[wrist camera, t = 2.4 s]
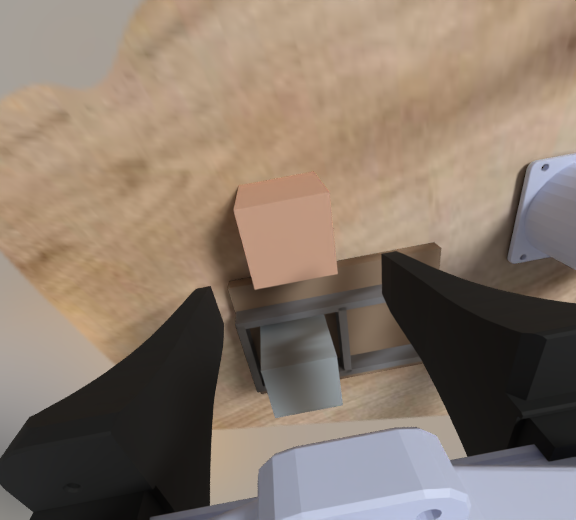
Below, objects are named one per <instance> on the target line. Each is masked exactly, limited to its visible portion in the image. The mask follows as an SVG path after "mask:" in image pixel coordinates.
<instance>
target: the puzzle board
mask: <svg viewBox="0 0 576 520" xmlns="http://www.w3.org/2000/svg"><path fill="white" fill-rule="evenodd" d="M393 251H397V252H400V253H403V254H405V255H407V256H409V257H412V258H414V259H416V260H418V261H420V262H423V263H425V264H427V265H429V266H431V267H434V268H436V269H438V270H439V267H440V256H441V248H440V247H439V246H438V245H437V244H435V243H429V244H423V245H418V246H413V247H408V248H402V249H397V250H392V251H387V252H381V253H376V254H371V255H366V256H360V257H355V258H350V259H344V260H339V261H337V271H338V274H335V275H330V276H324V277H319V278H314V279H308V280H303V281H298V282H293V283H287V284H282V285H277V286H271V287H266V288H261V289H256V290H255V289H254V285H253V281H252V277H250V278H244V279H239V280H234V281H229V284H228V291H229V294H230V297H231V301H232V304H233V307H234V310H235V313H236V321H235V326H236V329H237V332H238V335H239V338H240V341H241V344H242V347H243V350H244V353H245V356H246V359H247V362H248V365H249V368H250V371H251V374H252V378H253V381H254V384H255V387H256V390H257V392H261V394H264V393H268V396H269V399H270V403H271V406H272V409H273V412H274V416H275V418H278V417H283V416H289V415H294V414H299V413H304V412H310V411H315V410H320V409H325V408H331V407H336V406H341V405H343V403H342V394H341V386H340V379H343V378H349V377H354V376H359V375H364V374H370V373H375V372H380V371H386V370H391V369H396V368H401V367H407V366H412V365H417V364H422V363H423V362H422V360H421V359H420V357H419V355H418V354H417V352H416V351H415V349H414V348H413V346H412V345H411V343H410V342H409V340H408V339H407V337H406V336H405V334H404V333H403V331H402V330H401V328H400V326H399V325H398V323H397V322H396V320H395V319H394V317H393V316H392V314H391V312H390V310H389V308H388V306H387V304H386V302H385V300H384V297H383V295H382V266H381V254H383V253H388V252H393Z"/></svg>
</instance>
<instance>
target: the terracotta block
mask: <svg viewBox="0 0 576 520" xmlns="http://www.w3.org/2000/svg"><path fill="white" fill-rule="evenodd" d="M234 214H235V217H236V221H237V225H238V229H239V232H240V236H241V240H242V244H243V247H244V251H245V255H246V259H247V262H248V266H249V270H250V274H251V277H252V281H253V285H254V289H255V290H256V289H261V288H266V287H271V286H277V285H282V284H287V283H293V282H298V281H303V280H308V279H314V278H319V277H324V276H330V275H335V274H338V271H337V261H336V251H335V241H334V230H333V220H332V210H331V200H330V192H329V190H328V189H327V188H326V186H325V185H324V184H323V183H322V181H321V180H320V179H319V177H318V176H317V175H316V173H315V172H314V171H313V172H307V173H302V174H297V175H292V176H286V177H281V178H276V179H271V180H265V181H260V182H255V183H249V184H244V185H239V187H238V192H237V196H236V201H235V206H234Z"/></svg>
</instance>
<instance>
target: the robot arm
mask: <svg viewBox="0 0 576 520" xmlns="http://www.w3.org/2000/svg"><path fill="white" fill-rule="evenodd" d="M543 165H544V167H543V169H542V170H541V168H542V166H543ZM547 257H552V258H554V259H556V260H558V261H560V262H562V263H563V264H565V265H567V266H569V267H571V268H573V269H575V270H576V153H573V154H567V155H562V156H557V157H552V158H546V159H541V160H536V161H533V162H532V163H530V164H529V166H528V167H527V170H526V175H525V179H524V184H523V189H522V193H521V198H520V202H519V207H518V212H517V216H516V221H515V225H514V230H513V235H512V239H511V244H510V248H509V253H508V258H507V259H508V261H509V262H511V263H513V264H516V263H521V262H526V261H532V260H537V259H542V258H547ZM381 266H382V295H383V297H384V300H385V302H386V304H387V306H388V308H389V310H390V312H391V314H392V316H393V317H394V319H395V320H396V322H397V323H398V325H399V326H400V328H401V330H402V331H403V333H404V334H405V336H406V337H407V339H408V340H409V342H410V343H411V345H412V346H413V348H414V349H415V351H416V352H417V354H418V355H419V357H420V359H421V360H422V362H423V364H424V365H425V367H426V369H427V371H428V373H429V375H430V377H431V379H432V381H433V383H434V385H435V387H436V389H437V391H438V393H439V395H440V397H441V399H442V401H443V403H444V405H445V407H446V410H447V412H448V414H449V416H450V418H451V420H452V423H453V425H454V427H455V429H456V431H457V433H458V436H459V438H460V440H461V443H462V445H463V447H464V449H465V452H466V454H467V457H465V458H459V459H454V460H449V458H448V456H447V454H446V453H445V451H444V449H443V447H442V445H441V443H440V441H439V439H438V437H437V436H436V435H434V434H432V433H429V432H427V431H425V430H422V429H420V428H417V427H402V428H391V429H386V430H380V431H375V432H370V433H365V434H359V435H354V436H349V437H344V438H339V439H333V440H328V441H323V442H318V443H312V444H307V445H302V446H296V447H293V448H290V449H287V450H284V451H282V452H279V453H276V454H274V455H273V456H272V457H271V458H270V459H269V460H268V461H267V462H266V463H265V464H264V465H263V466H262V467H261V468H260V469H259V474H258V497H254V498H249V499H243V500H238V501H233V502H227V503H222V504H217V505H212V506H210V461H211V437H212V419H213V404H214V396H215V390H216V384H217V379H218V373H219V367H220V361H221V355H222V349H223V338H224V323H223V320H222V317H221V314H220V311H219V309H218V306H217V303H216V300H215V297H214V294H213V291H212V289H211V286H208V287H203V288H198V289H196V290H194V291H193V292H192V294H191V295H190V296H189V297H188V298H187V299H186V300H185V301H184V302H183V304H182V305H181V306H180V307H179V308H178V309H177V310H176V311H175V312H174V313H173V315H172V316H171V317H170V318H169V319H168V320H167V321H166V322H165V323H164V324H163V325H162V326H161V327H160V328H159V329H158V330H157V331H156V332H155V333H154V334H153V335H152V336H151V337H150V338H149V339H148V340H146V341H145V342H144V343H143V344H142V345H141V346H140V347H138V348H137V349H136V350H135V351H134V352H132V353H131V354H130V355H129V356H127V357H126V358H125V359H123V360H122V361H121V362H119V363H118V364H117V365H115V366H114V367H113V368H111V369H110V370H108V371H107V372H106V373H104V374H103V375H101V376H100V377H99V378H97V379H95V380H94V381H92V382H91V383H89V384H88V385H86V386H85V387H83V388H81V389H79V390H78V391H76V392H75V393H73V394H71V395H70V396H68V397H66V398H65V399H62V400H61V401H59V402H57V403H55V404H53V405H51V406H50V407H48V408H46V409H44V410H42V411H41V412H39V413H37V414H35V415H34V416H31V417H29V419H28V420H27V421H26V423H25V424H24V426H23V427H22V428H21V430H20V431H19V433H18V434H17V435H16V437H15V438H14V440H13V441H12V442H11V444H10V445H9V447H8V448H7V449H6V451H5V453H4V454H3V455H2V457H1V458H0V484H1V486H2V487H3V488H4V489H5V490H6V491H8V492H9V493H10V494H11V495H13V496H14V497H15V498H16V499H18V500H19V501H20V502H21V503H23V504H24V505H25V506H26V507H28V508H29V509H30V510H31V511H33V514H32V516H31V518H30V520H576V303H567V302H560V301H554V300H547V299H541V298H535V297H530V296H524V295H520V294H515V293H511V292H506V291H502V290H498V289H494V288H490V287H487V286H483V285H480V284H477V283H473V282H470V281H467V280H464V279H461V278H459V277H456V276H454V275H451V274H448V273H446V272H443V271H441V270H438V269H436V268H434V267H431V266H429V265H427V264H425V263H423V262H420V261H418V260H416V259H414V258H412V257H409V256H407V255H405V254H403V253H400V252H397V251H393V252H388V253H383V254H381Z"/></svg>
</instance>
